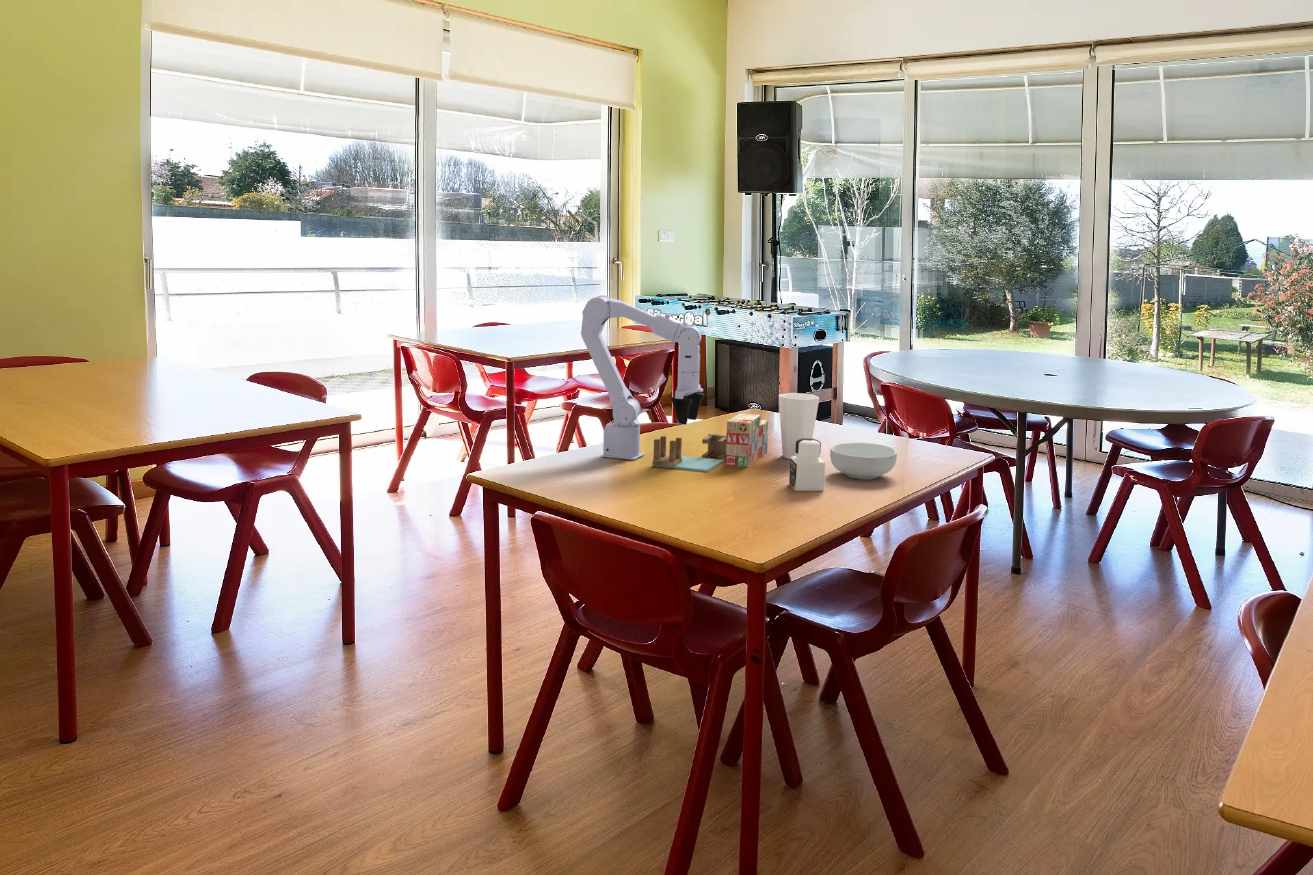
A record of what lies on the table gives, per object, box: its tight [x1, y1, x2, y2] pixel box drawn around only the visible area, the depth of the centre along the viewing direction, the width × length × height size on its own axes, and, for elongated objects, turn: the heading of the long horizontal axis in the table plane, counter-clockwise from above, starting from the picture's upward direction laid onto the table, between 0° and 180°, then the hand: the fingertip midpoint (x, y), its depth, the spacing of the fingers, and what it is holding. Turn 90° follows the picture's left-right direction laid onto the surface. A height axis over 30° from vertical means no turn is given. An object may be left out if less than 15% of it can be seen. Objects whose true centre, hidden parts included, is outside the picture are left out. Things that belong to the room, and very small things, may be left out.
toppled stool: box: [701, 433, 727, 461], centre depth 288 cm, size 6×6×7 cm
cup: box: [778, 392, 820, 460], centre depth 290 cm, size 11×10×17 cm
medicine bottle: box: [788, 438, 826, 492], centre depth 257 cm, size 7×7×12 cm
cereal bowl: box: [829, 442, 898, 480], centre depth 271 cm, size 17×17×7 cm
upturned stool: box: [652, 435, 682, 467], centre depth 277 cm, size 6×6×7 cm
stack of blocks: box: [725, 412, 769, 468], centre depth 288 cm, size 21×6×12 cm, turn 160°
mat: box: [652, 455, 724, 473], centre depth 280 cm, size 15×13×1 cm
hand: (687, 421), depth 284 cm, fingers open, 7 cm apart
